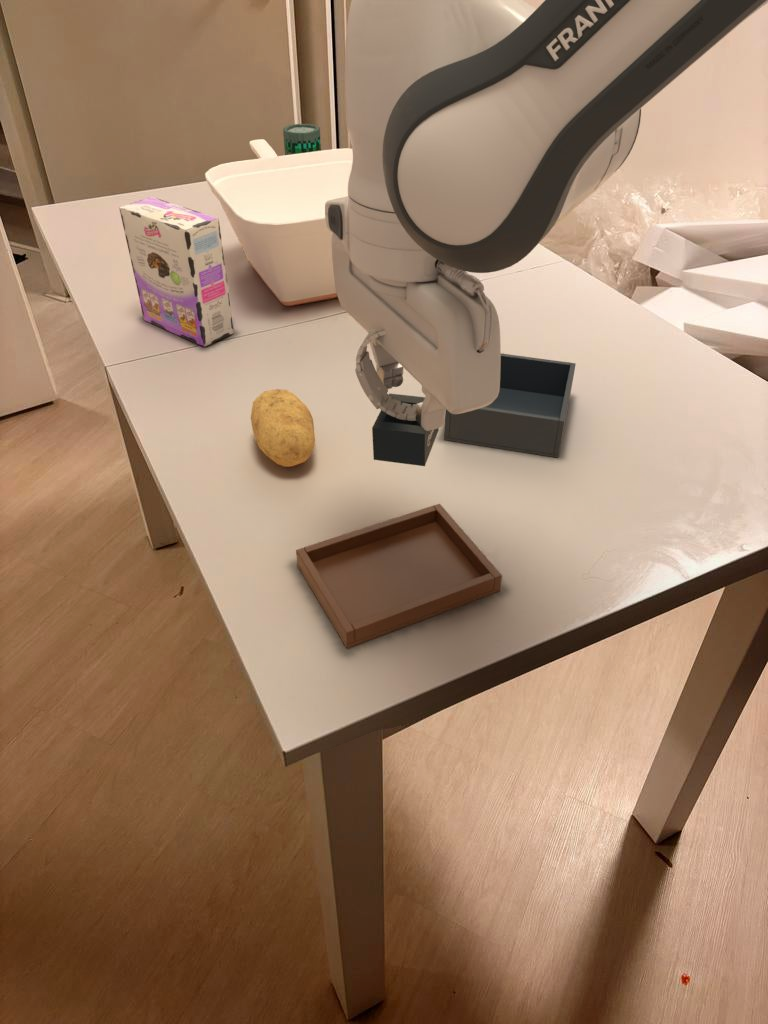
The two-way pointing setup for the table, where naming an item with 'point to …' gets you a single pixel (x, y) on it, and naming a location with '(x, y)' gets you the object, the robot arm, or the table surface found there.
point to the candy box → (179, 269)
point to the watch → (393, 416)
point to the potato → (283, 427)
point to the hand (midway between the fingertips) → (408, 403)
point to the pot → (285, 216)
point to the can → (301, 138)
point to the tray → (396, 573)
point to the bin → (520, 409)
